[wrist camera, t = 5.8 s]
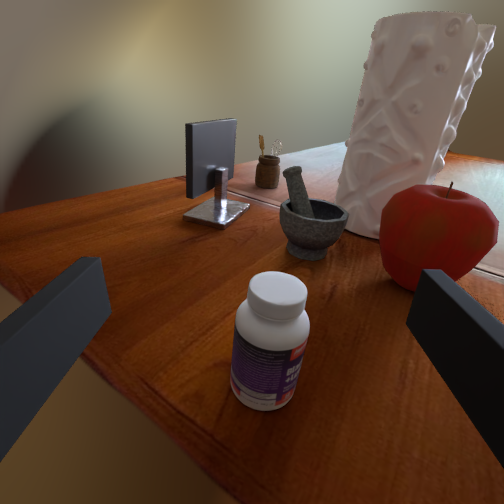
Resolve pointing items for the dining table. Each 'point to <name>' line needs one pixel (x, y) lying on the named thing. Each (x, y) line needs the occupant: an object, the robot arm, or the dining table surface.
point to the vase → (408, 108)
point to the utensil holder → (267, 169)
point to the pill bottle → (269, 341)
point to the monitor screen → (208, 153)
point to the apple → (434, 233)
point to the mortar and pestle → (309, 220)
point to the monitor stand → (217, 206)
